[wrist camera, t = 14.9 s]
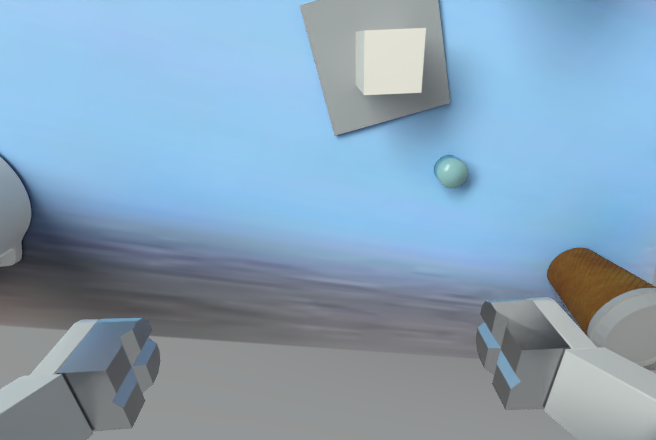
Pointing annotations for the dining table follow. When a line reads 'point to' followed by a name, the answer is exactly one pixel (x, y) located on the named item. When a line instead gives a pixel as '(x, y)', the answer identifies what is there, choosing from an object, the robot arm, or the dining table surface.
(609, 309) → the disposable coffee cup
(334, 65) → the mat
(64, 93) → the dining table surface
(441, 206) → the dining table surface
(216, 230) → the dining table surface
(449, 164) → the pale green rounded capsule
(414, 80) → the cream white rectangular block
